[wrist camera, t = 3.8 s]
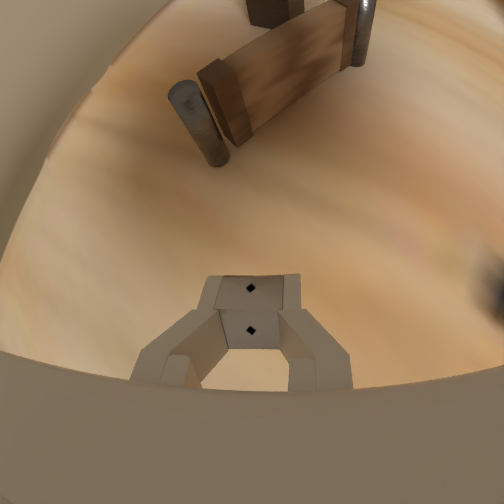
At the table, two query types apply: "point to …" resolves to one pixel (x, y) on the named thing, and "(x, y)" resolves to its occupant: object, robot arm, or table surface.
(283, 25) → the brown wooden bar
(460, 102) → the table surface
